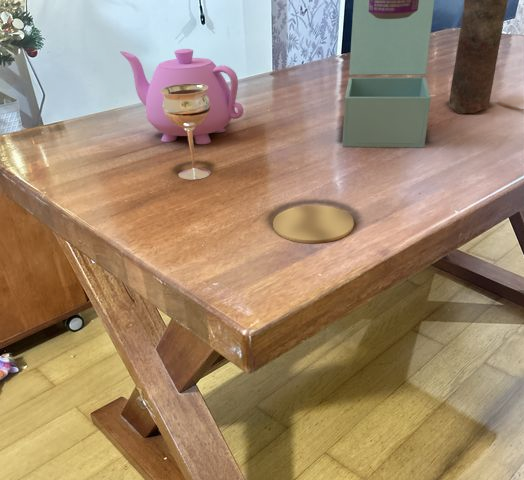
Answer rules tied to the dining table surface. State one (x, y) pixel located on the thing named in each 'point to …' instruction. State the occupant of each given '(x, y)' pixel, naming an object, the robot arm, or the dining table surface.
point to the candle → (477, 54)
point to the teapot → (183, 73)
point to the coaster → (313, 224)
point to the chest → (386, 112)
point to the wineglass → (187, 116)
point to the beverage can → (392, 8)
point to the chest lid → (390, 41)
